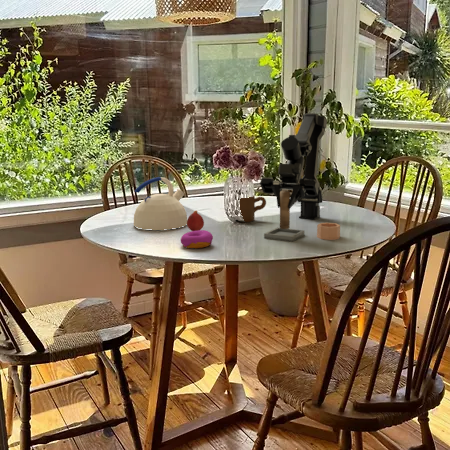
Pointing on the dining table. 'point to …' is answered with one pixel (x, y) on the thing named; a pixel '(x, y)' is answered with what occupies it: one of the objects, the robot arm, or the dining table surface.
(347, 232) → the dining table surface
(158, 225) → the kettle
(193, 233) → the donut
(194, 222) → the onion
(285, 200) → the walnut dowel
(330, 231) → the terracotta cup
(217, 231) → the dining table surface
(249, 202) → the mug
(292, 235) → the grey tray
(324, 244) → the dining table surface
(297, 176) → the robot arm
